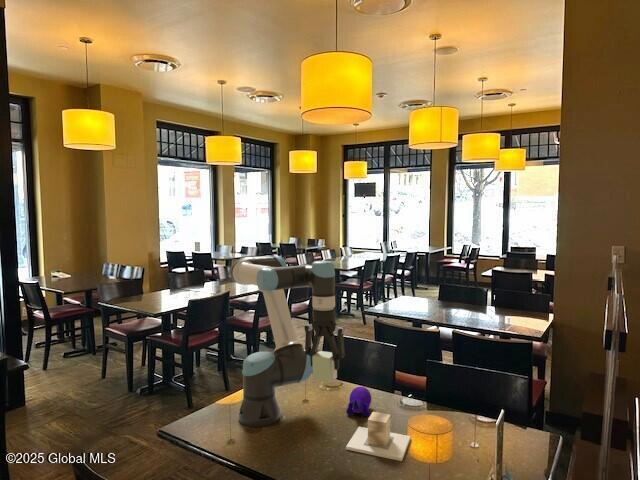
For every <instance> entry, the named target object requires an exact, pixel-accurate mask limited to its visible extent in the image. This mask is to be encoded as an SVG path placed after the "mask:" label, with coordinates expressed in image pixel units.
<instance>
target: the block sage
mask: <svg viewBox="0 0 640 480" xmlns="http://www.w3.org/2000/svg"><path fill="white" fill-rule="evenodd" d="M333 359H334V358H333V355H332V352H331V351H324V350H323V351H322V350H320V351H319V350H318V351H317V353H316V354H315V355H313V356H312V362H313V368H312V381H317V382H323V383H329V384H330V383H331V382H332V381H333V380H332V364H331V360H333Z"/></svg>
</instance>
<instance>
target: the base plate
mask: <svg viewBox="0 0 640 480" xmlns="http://www.w3.org/2000/svg"><path fill="white" fill-rule="evenodd" d="M411 439H412V438H411V435H405V434H400V433H395V432H391V431H390V440H389V442H388V444H387V446H386V447H382V446H378V445H373V444H368V427H364V426H358V427H357V429H356V430H355V432H354V434H353V435H352V437H351V438H350V440H349V442H348V443H347V444H346V446H345V449H346V450H348V451H351V452H352V451H353V452H357V453H362V454H366V455H371V456H375V457H379V458H380V457H381V458H386V459H389V460H390V459H391V460H395V461H400V462H403V459H404V457H405V454H406V452H407V449H408V446H409V445H410V441H411Z"/></svg>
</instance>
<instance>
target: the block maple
mask: <svg viewBox="0 0 640 480" xmlns="http://www.w3.org/2000/svg"><path fill="white" fill-rule="evenodd" d="M367 428H368V444H373V445H378V446H382V447H386V446H387V444H388V442H389V440H390V432H391V414H387V413H384V412H383V413H382V412H377V411H372V412H371V414H370V415H369V416H368V419H367Z"/></svg>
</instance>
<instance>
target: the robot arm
mask: <svg viewBox="0 0 640 480" xmlns="http://www.w3.org/2000/svg"><path fill="white" fill-rule="evenodd" d="M229 276H230V278H231V280H232V281H233V282H234V283H236V284H238V285H242V286H244V285H245V286H246V285H249V286H250V285H253V286H257V289H258V291H259V292H262V295H263V298H264V303H265V307H266V311H267V316H268V320H269V323H270V327H271V331H272V332H271V333H272V335H273V340H274V344H275V347H274V350H273V352H272V351H268V350H267V351H265V350H264V351H257V352H254V353H250V354H249V355H248V356H246V357H245V358H244V360H243V363H242V369H241V370H242V371H241V372H242V390H243V392H242V393H243V394H242V397H243V398H242V401H241V404H240V407H239V411H238V421H239V422H240V423H241V424H242V425H245V426H247V427H253V428H255V427H257V428H258V427H259V428H260V427H267V426H269V425H272V424H275V423H276V422H277V421H278V420H279V419H280V418H281V411H280V407H279V404H278V401H277V398H276V388H278V387H283V386H284V387H285V386H288V385H293V384H299V383H301V382H305V381H308V380H309V379H310V378H311V375H312V374H313V362H312V356H313V355H315V354H316V353H318V348H319V346H320V342H321V339H322V337H324V338H326V340H327V341H328V344H329V347H330V352H332V355H333V358H334V359H333V360H331V364H332V381H335V380H336V379H337V378H338V370H339V368H340V360H342V359H343V358H344V357H345V356H346V353H345V352H346V351H345V340H344V333H345V327H343V326H342V327H340V326H338V325H337V323H336V308H335V307H336V271H335V263H334V262H333V261H330V260H316V261H313V262H311V264H309V263H304V264H303V263H302V264H299V265H292V266H291V265H290V266H287V264H286V261H285V260H284V258H283V257H281V256H280V255H271V254H269V255H259V256H245V257H241V258H239V259H236V261H234V262H233V263H232V265H231V266H230V268H229ZM298 288H300V289H301V288H311V293H312V294H311V296H312V300H311V302H312V303H311V304H312V308H313V309H312V310H311V311H312V323H308V324H306V325H305V326H304V331H305V340H304V341H305V343H304V344H305V345H303V344H302V343H301V342H300V341H298V338H297V334H296V332H295V328H294V323H293V320H292V317H291V312H290V308H289V305H288V301H287V298H286V293H285V290H287V289H289V290H290V289H298ZM313 330H314V332H315V334H314V337H313ZM335 331H336V334H337V336H336V338H337V343H336V340H335V334H334V333H335ZM312 338H314V339H312ZM312 340H313V341H312ZM303 346H304V347H303Z"/></svg>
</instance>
